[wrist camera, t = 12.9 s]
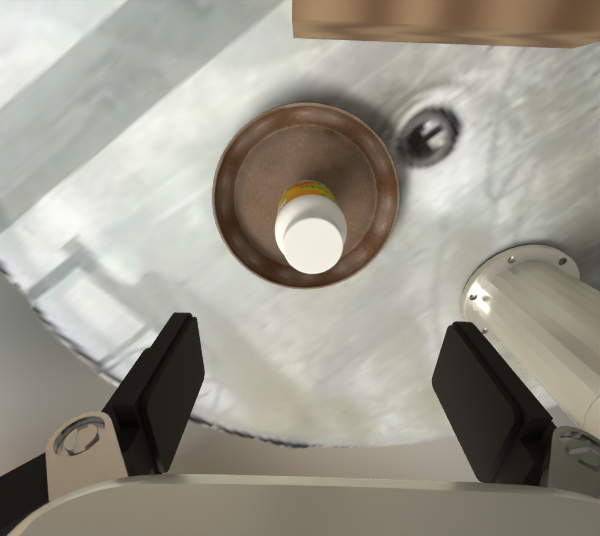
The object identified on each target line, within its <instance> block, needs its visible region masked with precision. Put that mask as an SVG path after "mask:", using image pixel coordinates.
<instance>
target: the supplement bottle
mask: <svg viewBox="0 0 600 536" xmlns="http://www.w3.org/2000/svg"><path fill="white" fill-rule="evenodd" d="M346 236H347V224H346V220H345V217H344V215H343V213H342V211H341V209H340V207H339V205H338V203H337V201H336V199H335V197H334V196H333V194H332V192H331V191H330V190H329V189H328V188H327V187H326V186H325V185H323V184H321V183H319V182H317V181H313V180H304V181H299V182H297V183H295V184H293V185H291V186H290V187H289V188H288V189H287V190H286V191H285V192H284V194H283V196H282V198H281V200H280V203H279V208H278V213H277V218H276V223H275V238H276V242H277V245H278V247H279V248H280V250H281V252H282V253H283V254H284V255H285V258H286V259H287V261H288V262H289V264H290V265H291V266H292V267H294V268H295V269H297V270H298V271H301V272H303V273H308V274H317V273H322V272H325V271H327V270H329V269H330V268H332V267H333V266H334V265H335V264H336V263H337V262H338V260H339V259H340V257H341V254H342V251H343V245H344V243H345V240H346Z"/></svg>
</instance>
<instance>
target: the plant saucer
mask: <svg viewBox="0 0 600 536" xmlns="http://www.w3.org/2000/svg"><path fill="white" fill-rule="evenodd" d="M304 180H313V181H317V182H319V183H321V184H323V185H325V186H326V187H327V188H328V189H329V190H330V191H331V192H332V194H333V196H334V197H335V199H336V201H337V203H338V205H339V207H340V209H341V211H342V213H343V215H344V217H345V220H346V224H347V236H346V240H345V243H344V245H343V251H342V254H341V257H340V259H339V260H338V262H337V263H336V264H335V265H334V266H333V267H332V268H330V269H329V270H327V271H325V272H322V273H317V274H308V273H303V272H301V271H298V270H297V269H295V268H294V267H292V266H291V265H290V264H289V262H288V261H287V259H286V258H285V255H284V254H283V253H282V252H281V250H280V248H279V247H278V245H277V242H276V238H275V223H276V218H277V213H278V208H279V203H280V200H281V198H282V196H283V194H284V192H285V191H286V190H287V189H288V188H289V187H290V186H291V185H293V184H295V183H297V182H299V181H304ZM399 201H400V189H399V180H398V175H397V171H396V167H395V164H394V162H393V159H392V157H391V155H390V153H389V151H388V149H387V147H386V146H385V144H384V142H383V141H382V140H381V138H380V137H379V136H378V135H377V134H376V132H374V131H373V130H372V129H371V128H370V127H369V126H368V125H367V124H366V123H365V122H363V121H362V120H361V119H359V118H358V117H356V116H354V115H353V114H351V113H349V112H347V111H345V110H342V109H340V108H337V107H333V106H330V105H326V104H320V103H310V102H301V103H292V104H287V105H283V106H279V107H276V108H273V109H271V110H269V111H266V112H264V113H262V114H261V115H259V116H257V117H256V118H254V119H253V120H251V121H250V122H249V123H247V124H246V125H245V126H244V127H243V128H242V129H240V130H239V131H238V133H237V134H236V135H235V136H234V137H233V138H232V140H231V141H230V142H229V144H228V145H227V147H226V148H225V150H224V152H223V154H222V156H221V158H220V160H219V163H218V165H217V168H216V172H215V176H214V180H213V188H212V207H213V214H214V219H215V223H216V226H217V228H218V231H219V233H220V236H221V238H222V240H223V242H224V243H225V245H226V247H227V248H228V250H229V251H230V253H231V254H232V255H233V256H234V257H235V259H236V260H237V261H238V262H239V263H240V264H241V265H242V266H243V267H245V268H246V269H247V270H248V271H250V272H251V273H252V274H254V275H256V276H257V277H259V278H261V279H263V280H265V281H267V282H270V283H272V284H275V285H278V286H282V287H287V288H292V289H317V288H323V287H327V286H331V285H334V284H337V283H340V282H342V281H345V280H347V279H349V278H350V277H352V276H354V275H356V274H357V273H359V272H360V271H361V270H363V269H364V268H365V267H367V266H368V265H369V264H370V263H371V262H372V261H373V260H374V259H375V258H376V257H377V255H378V254H379V253H380V252H381V251H382V249H383V248H384V246H385V245H386V243H387V241H388V239H389V238H390V235H391V233H392V231H393V229H394V226H395V223H396V219H397V214H398V210H399Z"/></svg>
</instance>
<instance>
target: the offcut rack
mask: <svg viewBox="0 0 600 536" xmlns="http://www.w3.org/2000/svg"><path fill="white" fill-rule="evenodd" d="M292 24H293V36H294V38H307V39H334V40H361V41H388V42H415V43H442V44H469V45H495V46H522V47H549V48H575V47H579V46H583V45H587V44H590V43H594V42H598V41H600V0H292Z"/></svg>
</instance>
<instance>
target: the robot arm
mask: <svg viewBox="0 0 600 536" xmlns="http://www.w3.org/2000/svg"><path fill="white" fill-rule="evenodd" d="M461 312H462V315H463V318H464V320H465V321H466V322H457V321H456V322H454V323H453V324H452V325H450V326H448V328H447V331H446V334H445V338H444V341H443V344H442V347H441V351H440V354H439V357H438V361H437V364H436V367H435V370H434V374H433V377H432V386H433V389H434V391H435V393H436V395H437V397H438V399H439V401H440V403H441V405H442V407H443V409H444V411H445V414H446V416H447V418H448V420H449V422H450V424H451V426H452V428H453V430H454V432H455V434H456V436H457V438H458V440H459V442H460V445H461V447H462V449H463V451H464V453H465V455H466V457H467V459H468V461H469V463H470V465H471V467H472V469H473V471H474V474H475V476H476V477H477V479H478V480H479V481H480V482H483V483H476V482H450V481H449V482H447V481H422V480H420V481H419V480H393V479H362V478H361V479H360V478H330V477H295V476H293V477H292V476H255V475H253V476H252V475H202V474H199V475H196V474H194V475H193V474H188V475H187V474H186V475H185V474H163V475H162V473H166V472H167V471H168V470H169V468H170V466H171V463H172V461H173V458H174V455H175V453H176V450H177V448H178V445H179V442H180V440H181V437H182V434H183V432H184V429H185V427H186V424H187V422H188V419H189V417H190V414H191V411H192V409H193V406H194V404H195V401H196V399H197V396H198V393H199V391H200V388H201V386H202V383H203V380H204V375H205V371H204V364H203V357H202V350H201V343H200V337H199V330H198V323H197V318H196V317H192V314H191V313H176V312H175V313H173V315H172V316H171V317H170V319H169V320H168V322H167V323H166V325H165V326H164V328H163V329H162V331H161V332H160V334H159V335H158V337H157V338H156V340H155V341H154V343H153V344H152V346H151V347H150V348H147V349H145V350H144V351H143V352H142V354H141V355H140V357H139V358H138V360H137V361H136V362H135V364H134V365H133V367H132V368H131V370H130V371H129V372H128V374H127V375H126V377H125V378H124V380H123V381H122V383H121V384H120V385H119V387H118V388H117V390H116V391H115V393H114V394H113V395H112V397H111V398H110V400H109V402H108V403H107V404H106V406H105V407H104V408H103V410H102V411H101V412H97V411H94V412H88V413H84V414H81V415H79V416H76V417H74V418H73V419H71V420H69V421H67V422H66V423H65V424H63V425H62V426H61V427H59V428H58V429H57V430H56V432H55V433H54V434H53V435H52V436H51V438H50V440H49V441H48V443H47V446H46V452H45V453H43V454H41V455H40V456H38V457H36V458H34V459H32V460H30V461H28V462H27V463H25V464H23V465H21V466H19V467H17V468H16V469H14V470H12V471H10V472H8V473H6V474H4V475H3V476H1V477H0V536H600V291H598V290H596V289H594V288H593V287H591V286H589V285H587V284H586V283H584V282H582V281H581V280H580V273H579V269H578V267H577V265H576V263H575V262H574V261H573V260H572V258H571V257H570V256H568V255H567V254H565V253H563V252H562V251H560V250H558V249H555V248H553V247H550V246H546V245H534V244H531V245H523V246H518V247H515V248H511V249H508V250H506V251H504V252H502V253H500V254H497V255H496V256H494V257H493V258H491V259H490V260H488V261H486V262H485V263H484V264H483V265H482V266H481V267H480V268H478V269H477V271H476V272H475V273H474V274H473V275H472V276H471V278H470V279H469V281H468V283H467V284H466V286H465V289H464V291H463V294H462V299H461ZM486 338H487V339H489V340H495V341H501V342H502V343H503V344H504V345H505V346H506V348H507V349H508V350H509V351H510V352H511V353H512V354H513V355H514V356H515V358H516V359H517V360H518V361H519V362H520V363H521V364H522V365H523V366H524V368H525V369H526V370H527V371H528V372H529V373H530V374H531V375H532V376H533V378H534V379H535V380H536V381H537V382H538V383H539V384H540V385H541V386H542V388H543V389H544V390H545V391H546V392H547V393H548V394H549V395H550V396H551V398H552V399H553V400H554V401H555V402H556V403H557V404H558V405H559V406H560V408H561V409H562V410H563V411H564V412H565V413H566V414H567V415H568V416H569V418H571V420H572V421H573V422H574V423H575V424H576V425H577V426H578V428H579V429H578V428H574V427H569V426H560V427H558V428H557V427H556V426H555V425H554V423H553V422H552V421H551V420H552V419H553V418H552V417H551V416H550V414H549V413H548V412H547V411H546V409H545V408H544V407H543V406H542V405H541V403H540V402H539V401H538V400H537V399H536V397H535V396H534V395H533V394H532V393H531V391H530V390H529V389H528V388H527V387H526V386H525V384H524V383H523V382H522V381H521V380H520V378H519V377H518V376H517V375H516V374H515V372H514V371H513V370H512V369H511V368H510V366H509V365H508V364H507V363H506V362H505V360H504V359H503V358H502V357H501V356H500V354H499V353H498V352H497V351H496V350H495V348H494V347H493V346H492V345H491V344H490V342H489V341H488V340H487V339H486Z"/></svg>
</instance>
